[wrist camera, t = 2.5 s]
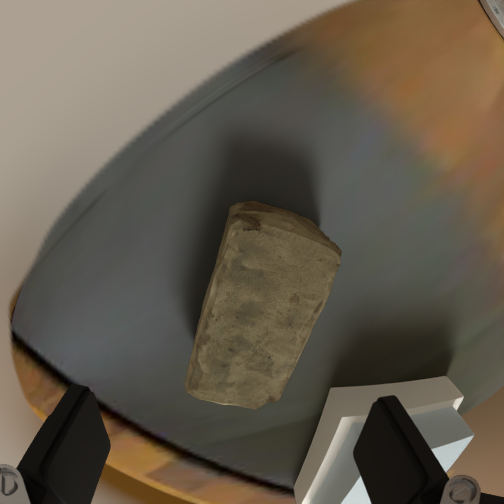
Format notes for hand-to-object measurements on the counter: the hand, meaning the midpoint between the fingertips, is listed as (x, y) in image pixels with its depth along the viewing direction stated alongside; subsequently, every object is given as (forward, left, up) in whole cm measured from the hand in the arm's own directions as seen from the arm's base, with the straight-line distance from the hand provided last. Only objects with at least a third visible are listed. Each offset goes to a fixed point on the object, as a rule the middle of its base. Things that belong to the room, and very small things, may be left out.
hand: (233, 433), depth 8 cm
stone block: (0, +1, -11) cm, 11 cm away
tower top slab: (+15, +13, -7) cm, 22 cm away
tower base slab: (+16, +13, -11) cm, 23 cm away
